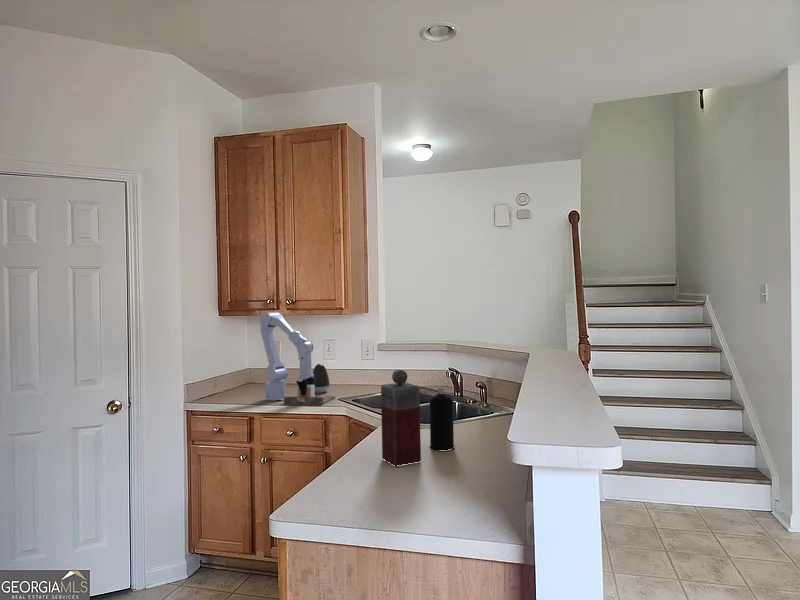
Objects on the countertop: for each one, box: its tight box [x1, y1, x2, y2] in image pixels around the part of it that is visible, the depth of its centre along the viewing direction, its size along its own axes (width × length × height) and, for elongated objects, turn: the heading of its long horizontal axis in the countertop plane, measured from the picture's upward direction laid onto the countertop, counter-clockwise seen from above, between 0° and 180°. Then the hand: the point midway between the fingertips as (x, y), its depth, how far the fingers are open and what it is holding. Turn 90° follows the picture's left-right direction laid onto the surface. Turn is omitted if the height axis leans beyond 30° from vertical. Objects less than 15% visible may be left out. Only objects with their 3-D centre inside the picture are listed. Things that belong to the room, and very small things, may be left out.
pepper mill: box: [380, 369, 422, 466], centre depth 163 cm, size 9×11×28 cm
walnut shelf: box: [283, 395, 336, 406], centre depth 261 cm, size 20×17×3 cm
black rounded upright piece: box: [312, 363, 331, 394], centre depth 285 cm, size 10×10×15 cm
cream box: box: [297, 385, 316, 397], centre depth 259 cm, size 5×7×7 cm
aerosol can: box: [428, 386, 455, 451], centre depth 175 cm, size 8×8×20 cm
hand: (306, 393), depth 259 cm, fingers open, 6 cm apart
